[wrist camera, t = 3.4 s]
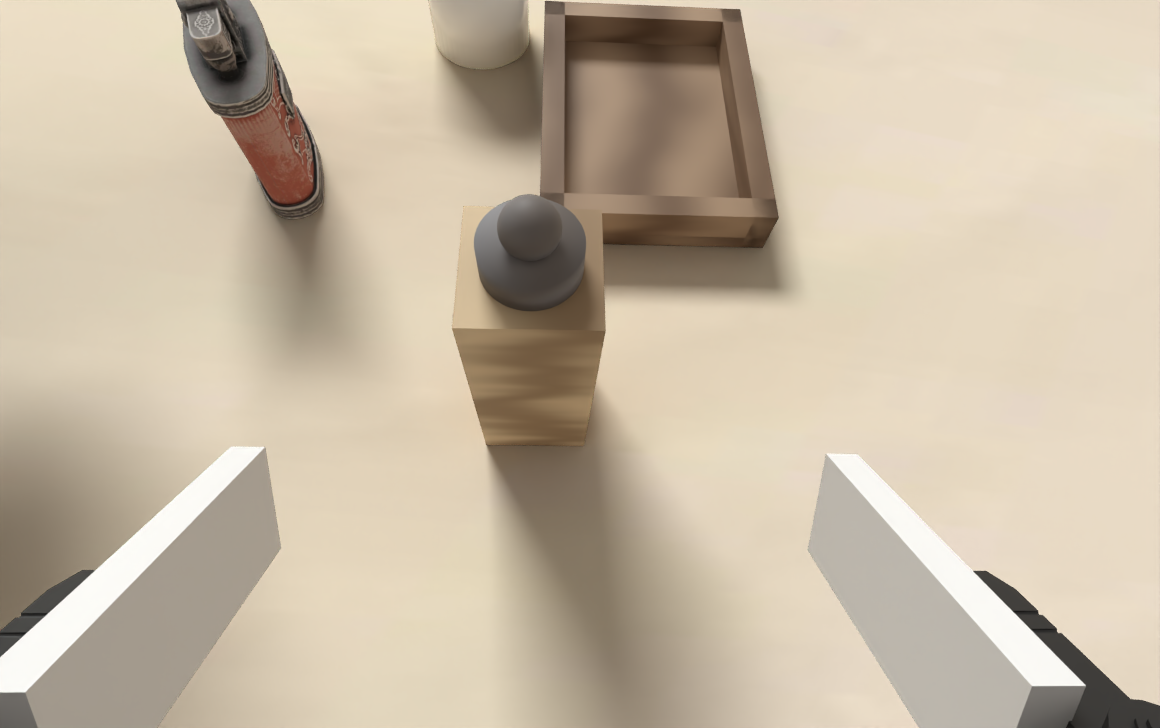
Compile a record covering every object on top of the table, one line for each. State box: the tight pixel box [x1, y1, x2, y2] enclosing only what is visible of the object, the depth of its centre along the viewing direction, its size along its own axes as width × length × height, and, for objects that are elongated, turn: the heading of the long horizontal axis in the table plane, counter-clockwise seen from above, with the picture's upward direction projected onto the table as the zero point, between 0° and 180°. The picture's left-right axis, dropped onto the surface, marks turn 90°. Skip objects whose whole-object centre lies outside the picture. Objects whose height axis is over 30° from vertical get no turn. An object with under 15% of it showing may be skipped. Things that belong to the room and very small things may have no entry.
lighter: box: [176, 0, 324, 219], centre depth 29 cm, size 8×3×10 cm, turn 21°
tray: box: [540, 1, 779, 248], centre depth 35 cm, size 12×16×2 cm
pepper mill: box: [452, 194, 606, 446], centre depth 22 cm, size 4×4×14 cm
